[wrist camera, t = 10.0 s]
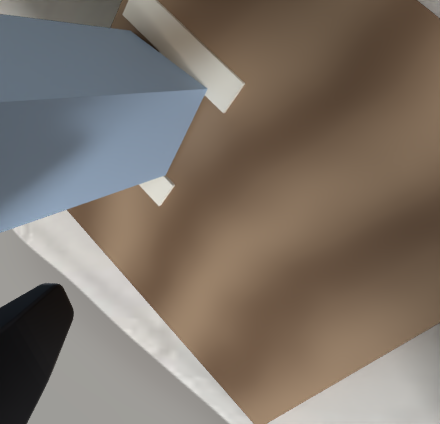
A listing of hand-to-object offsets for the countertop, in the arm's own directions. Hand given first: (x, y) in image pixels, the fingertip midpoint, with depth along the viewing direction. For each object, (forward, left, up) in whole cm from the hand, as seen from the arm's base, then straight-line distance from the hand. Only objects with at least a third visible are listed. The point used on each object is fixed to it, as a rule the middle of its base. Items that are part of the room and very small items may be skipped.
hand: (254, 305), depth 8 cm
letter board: (+4, +4, -11) cm, 12 cm away
